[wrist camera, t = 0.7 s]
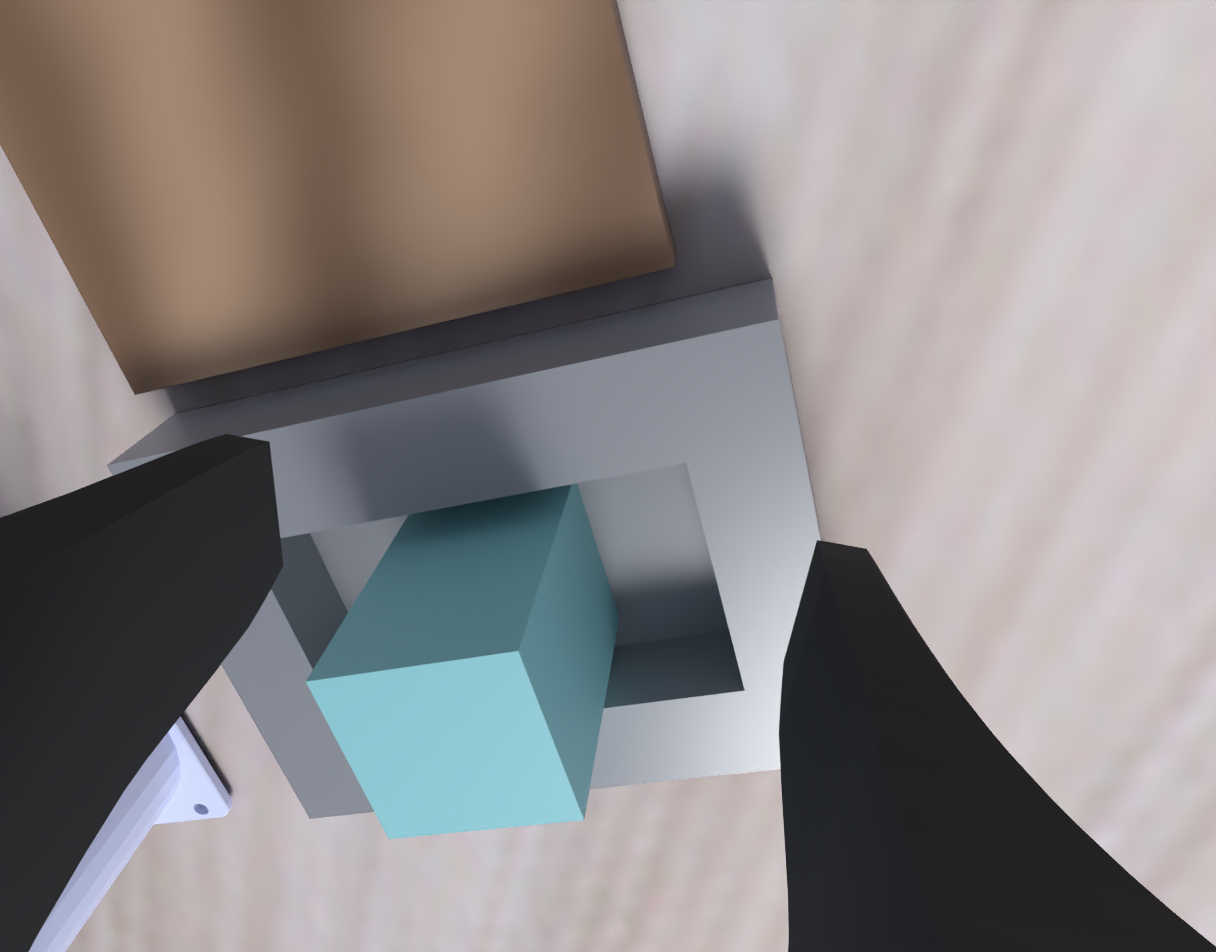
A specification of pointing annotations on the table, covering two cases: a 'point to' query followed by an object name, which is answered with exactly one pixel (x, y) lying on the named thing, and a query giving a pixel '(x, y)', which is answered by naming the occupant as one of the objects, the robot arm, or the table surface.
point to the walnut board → (323, 166)
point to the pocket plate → (541, 459)
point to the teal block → (476, 667)
